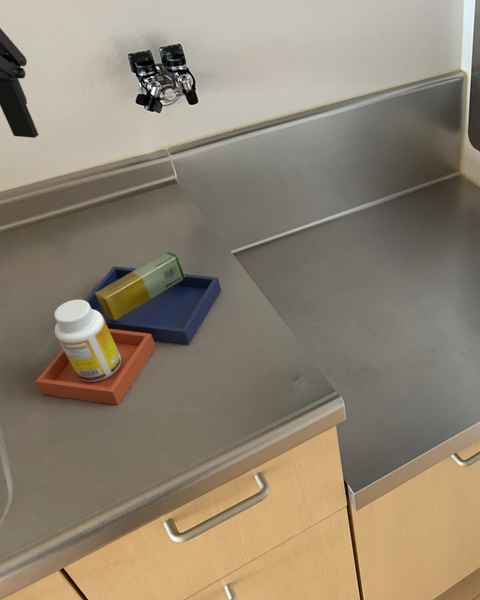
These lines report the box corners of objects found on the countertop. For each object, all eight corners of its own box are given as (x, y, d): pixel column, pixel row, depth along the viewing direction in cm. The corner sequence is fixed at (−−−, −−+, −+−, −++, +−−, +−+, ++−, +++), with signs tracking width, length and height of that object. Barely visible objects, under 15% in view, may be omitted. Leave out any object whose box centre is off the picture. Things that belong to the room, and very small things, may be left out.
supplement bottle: (112, 346, 82) (86, 288, 76) (129, 368, 79) (104, 310, 73) (70, 367, 80) (39, 309, 73) (87, 391, 77) (56, 333, 70)
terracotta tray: (43, 394, 77) (35, 381, 75) (87, 338, 84) (80, 325, 83) (118, 405, 76) (112, 391, 74) (156, 346, 83) (151, 333, 81)
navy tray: (76, 331, 85) (69, 317, 84) (118, 278, 94) (113, 265, 92) (188, 344, 83) (184, 331, 82) (221, 290, 92) (218, 277, 90)
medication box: (175, 272, 91) (167, 250, 89) (186, 278, 90) (179, 255, 88) (103, 315, 84) (93, 292, 81) (115, 322, 82) (104, 298, 80)
